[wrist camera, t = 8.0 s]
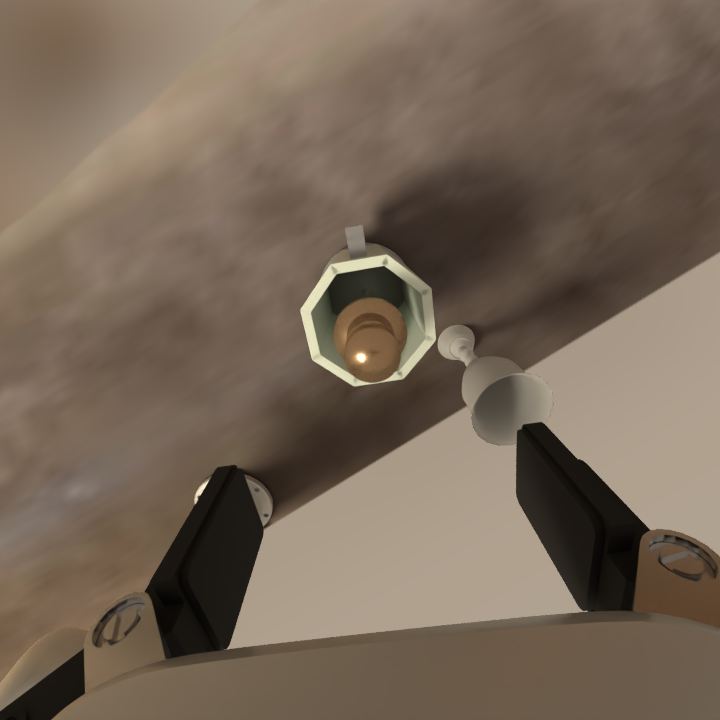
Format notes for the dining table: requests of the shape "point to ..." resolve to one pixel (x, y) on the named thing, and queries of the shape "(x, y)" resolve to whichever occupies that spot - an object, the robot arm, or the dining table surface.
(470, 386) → the chalice
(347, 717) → the robot arm
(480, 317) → the dining table surface
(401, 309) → the press carafe
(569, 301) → the dining table surface
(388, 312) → the plunger
